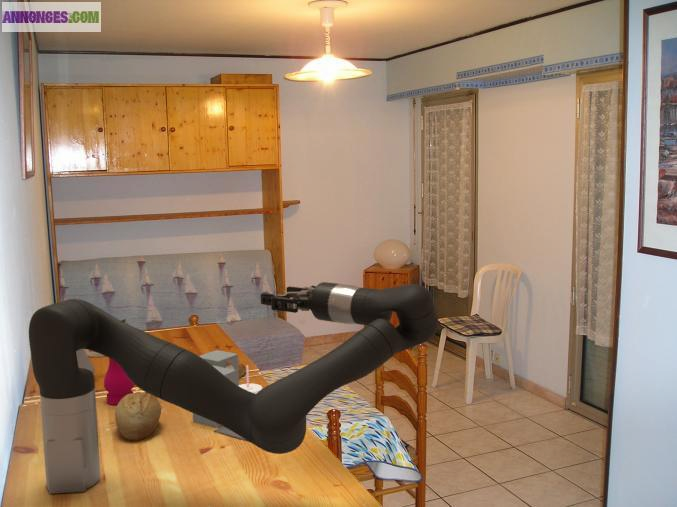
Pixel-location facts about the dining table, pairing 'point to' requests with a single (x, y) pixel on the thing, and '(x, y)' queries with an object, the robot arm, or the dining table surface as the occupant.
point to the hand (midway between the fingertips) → (274, 294)
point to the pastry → (241, 368)
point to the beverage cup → (250, 387)
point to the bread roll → (137, 415)
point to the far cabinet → (223, 360)
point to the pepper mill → (116, 383)
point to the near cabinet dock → (222, 430)
